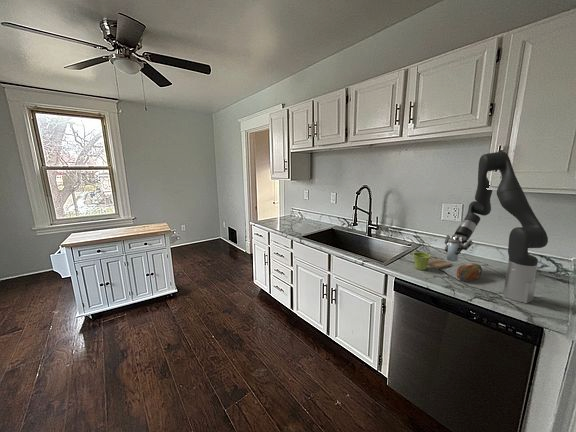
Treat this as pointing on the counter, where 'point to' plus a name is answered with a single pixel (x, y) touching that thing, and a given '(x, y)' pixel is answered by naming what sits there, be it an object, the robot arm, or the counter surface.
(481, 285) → the counter surface
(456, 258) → the blue jar
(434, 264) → the tan board
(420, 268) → the plant pot
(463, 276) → the tin
